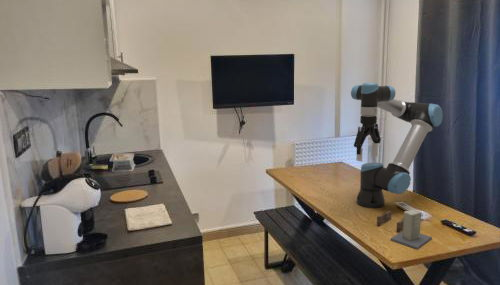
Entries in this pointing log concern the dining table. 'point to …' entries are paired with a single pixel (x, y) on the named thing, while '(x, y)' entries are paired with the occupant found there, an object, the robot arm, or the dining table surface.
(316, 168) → the dining table surface
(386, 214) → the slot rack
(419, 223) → the skincare box
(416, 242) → the slate pad
